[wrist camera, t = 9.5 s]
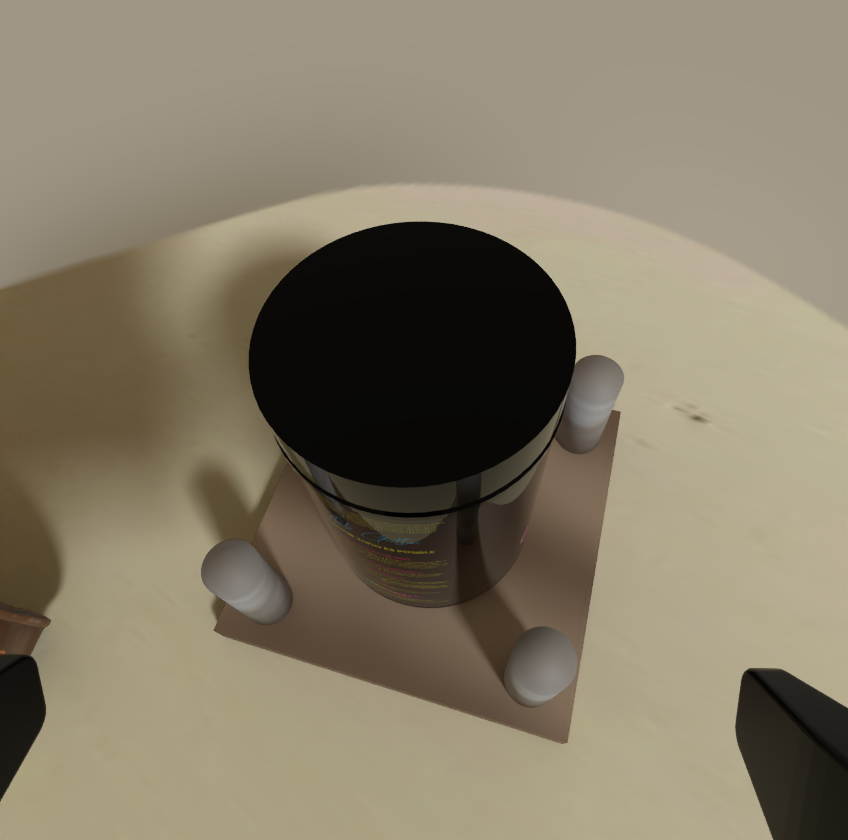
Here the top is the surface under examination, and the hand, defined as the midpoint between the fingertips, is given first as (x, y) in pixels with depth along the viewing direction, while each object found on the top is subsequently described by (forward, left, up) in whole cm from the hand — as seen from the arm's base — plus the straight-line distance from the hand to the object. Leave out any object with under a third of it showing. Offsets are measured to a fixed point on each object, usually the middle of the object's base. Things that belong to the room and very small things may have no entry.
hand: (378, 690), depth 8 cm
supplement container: (+7, +2, -12) cm, 14 cm away
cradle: (+7, +2, -13) cm, 15 cm away
